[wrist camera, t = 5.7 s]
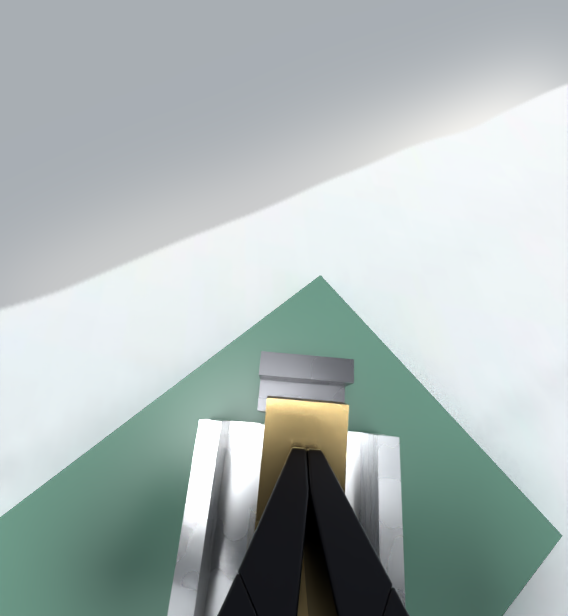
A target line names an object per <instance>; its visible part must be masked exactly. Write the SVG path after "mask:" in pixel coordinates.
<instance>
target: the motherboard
mask: <svg viewBox="0 0 568 616" xmlns="http://www.w3.org/2000/svg"><path fill="white" fill-rule="evenodd" d="M261 351H266V352H277V353H288V354H300V355H311V356H322V357H334V358H345V359H354V383H353V384H351V385H348V386H346V387H345V403H346V404H348V405H349V416H348V431H354V432H365V433H377V434H384V435H388V436H395V437H399V444H400V470H401V497H402V524H403V551H404V578H405V605H406V610H407V612H408V614H409V615H410V616H503V614H504V613H505V612H506V610H507V609H508V608H509V606H510V605H511V604H512V602H513V601H514V600H515V598H516V597H517V596H518V594H519V593H520V592H521V590H522V589H523V588H524V586H525V585H526V584H527V582H528V581H529V580H530V578H531V577H532V576H533V574H534V573H535V572H536V570H537V569H538V568H539V566H540V565H541V564H542V562H543V561H544V560H545V558H546V557H547V556H548V554H549V553H550V552H551V550H552V549H553V548H554V546H555V545H556V544H557V542H558V541H559V540H560V538H561V537H562V535H561V534H560V533H559V532H558V531H557V529H556V528H555V527H554V526H553V525H552V524H551V523H550V522H549V521H548V520H547V519H546V518H545V517H544V515H543V514H542V513H541V512H540V511H539V510H538V509H537V508H536V507H535V506H534V505H533V504H532V503H531V501H530V500H529V499H528V498H527V497H526V496H525V495H524V494H523V493H522V492H521V491H520V490H519V489H518V487H517V486H516V485H515V484H514V483H513V482H512V481H511V480H510V479H509V478H508V477H507V476H506V475H505V473H504V472H503V471H502V470H501V469H500V468H499V467H498V466H497V465H496V464H495V463H494V462H493V461H492V459H491V458H490V457H489V456H488V455H487V454H486V453H485V452H484V451H483V450H482V449H481V448H480V447H479V445H478V444H477V443H476V442H475V441H474V440H473V439H472V438H471V437H470V436H469V435H468V434H467V433H466V431H465V430H464V429H463V428H462V427H461V426H460V425H459V424H458V423H457V422H456V421H455V420H454V419H453V417H452V416H451V415H450V414H449V413H448V412H447V411H446V410H445V409H444V408H443V407H442V406H441V405H440V403H439V402H438V401H437V400H436V399H435V398H434V397H433V396H432V395H431V394H430V393H429V392H428V390H427V389H426V388H425V387H424V386H423V385H422V384H421V383H420V382H419V381H418V380H417V379H416V378H415V376H414V375H413V374H412V373H411V372H410V371H409V370H408V369H407V368H406V367H405V366H404V365H403V364H402V362H401V361H400V360H399V359H398V358H397V357H396V356H395V355H394V354H393V353H392V352H391V351H390V350H389V348H388V347H387V346H386V345H385V344H384V343H383V342H382V341H381V340H380V339H379V338H378V337H377V336H376V334H375V333H374V332H373V331H372V330H371V329H370V328H369V327H368V326H367V325H366V324H365V323H364V322H363V320H362V319H361V318H360V317H359V316H358V315H357V314H356V313H355V312H354V311H353V310H352V309H351V308H350V306H349V305H348V304H347V303H346V302H345V301H344V300H343V299H342V298H341V297H340V296H339V295H338V294H337V292H336V291H335V290H334V289H333V288H332V287H331V286H330V285H329V284H328V283H327V282H326V281H325V280H324V278H323V277H322V276H321V275H320V276H319V277H317V278H316V279H315V280H313V281H312V282H311V283H309V284H308V285H307V286H306V287H304V288H303V289H302V290H300V291H299V292H298V293H296V294H295V295H294V296H292V297H291V298H290V299H288V300H287V301H286V302H284V303H283V304H282V305H280V306H279V307H278V308H276V309H275V310H274V311H272V312H271V313H270V314H268V315H267V316H266V317H265V318H263V319H262V320H261V321H259V322H258V323H257V324H255V325H254V326H253V327H251V328H250V329H249V330H247V331H246V332H245V333H243V334H242V335H241V336H239V337H238V338H237V339H235V340H234V341H233V342H231V343H230V344H229V345H227V346H226V347H225V348H224V349H222V350H221V351H220V352H218V353H217V354H216V355H214V356H213V357H212V358H210V359H209V360H208V361H206V362H205V363H204V364H202V365H201V366H200V367H198V368H197V369H196V370H194V371H193V372H192V373H190V374H189V375H188V376H186V377H185V378H184V379H183V380H181V381H180V382H179V383H177V384H176V385H175V386H173V387H172V388H171V389H169V390H168V391H167V392H165V393H164V394H163V395H161V396H160V397H159V398H157V399H156V400H155V401H153V402H152V403H151V404H149V405H148V406H147V407H145V408H144V409H143V410H142V411H140V412H139V413H138V414H136V415H135V416H134V417H132V418H131V419H130V420H128V421H127V422H126V423H124V424H123V425H122V426H120V427H119V428H118V429H116V430H115V431H114V432H112V433H111V434H110V435H108V436H107V437H106V438H104V439H103V440H102V441H101V442H99V443H98V444H97V445H95V446H94V447H93V448H91V449H90V450H89V451H87V452H86V453H85V454H83V455H82V456H81V457H79V458H78V459H77V460H75V461H74V462H73V463H71V464H70V465H69V466H67V467H66V468H65V469H63V470H62V471H61V472H60V473H58V474H57V475H56V476H54V477H53V478H52V479H50V480H49V481H48V482H46V483H45V484H44V485H42V486H41V487H40V488H38V489H37V490H36V491H34V492H33V493H32V494H30V495H29V496H28V497H26V498H25V499H24V500H22V501H21V502H20V503H19V504H17V505H16V506H15V507H13V508H12V509H11V510H9V511H8V512H7V513H5V514H4V515H3V516H1V517H0V616H167V615H168V609H169V602H170V596H171V590H172V584H173V578H174V572H175V566H176V560H177V553H178V547H179V541H180V535H181V529H182V523H183V517H184V511H185V505H186V498H187V492H188V486H189V480H190V474H191V468H192V462H193V456H194V449H195V443H196V437H197V431H198V425H199V420H203V419H218V420H229V421H241V422H252V423H263V424H265V412H260V411H258V410H257V407H258V398H259V388H260V377H259V367H260V358H261Z"/></svg>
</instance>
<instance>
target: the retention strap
mask: <svg viewBox="0 0 568 616" xmlns="http://www.w3.org/2000/svg"><path fill="white" fill-rule="evenodd" d="M348 416H349V405H348V404H346V403H344V402H335V401H324V400H313V399H301V398H290V397H279V396H268V397H267V403H266V413H265V424H264V435H263V446H262V456H261V467H260V478H259V488H258V499H257V510H256V520H255V530H256V528H257V526H258V523H259V521H260V519H261V516H262V514H263V512H264V510H265V507H266V505H267V503H268V500H269V498H270V496H271V494H272V491H273V489H274V487H275V484H276V482H277V480H278V478H279V475H280V473H281V471H282V468H283V466H284V464H285V462H286V459H287V457H288V455H289V452H290V450H291V448H293V447H299V448H305V449H306V451H307V449H309V448H310V449H320V450H321V451H322V452H323V453H324V455H325V457H326V459H327V461H328V463H329V465H330V467H331V468H332V470H333V472H334V474H335V476H336V478H337V480H338V482H339V484H340V485H341V487H342V489H343V491H344V493H345V483H346V461H347V439H348ZM254 533H255V531H254ZM297 616H308V606H307V594H306V582H305V571H304V559H303V563H302V574H301V584H300V594H299V604H298V615H297Z"/></svg>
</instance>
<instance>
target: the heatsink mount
mask: <svg viewBox="0 0 568 616" xmlns="http://www.w3.org/2000/svg"><path fill="white" fill-rule="evenodd" d="M259 377H260V388H259V398H258V407H257V410H258V411H260V412H265V413H266V403H267V397H268V396H279V397H290V398H301V399H313V400H324V401H335V402H344V403H345V387H346V386H348V385H351V384H353V383H354V359H345V358H334V357H322V356H311V355H300V354H288V353H277V352H266V351H261V358H260V367H259ZM263 435H264V424H263V423H252V422H241V421H229V420H218V419H203V420H199V425H198V431H197V437H196V443H195V449H194V456H193V462H192V468H191V474H190V480H189V486H188V492H187V498H186V505H185V511H184V517H183V523H182V529H181V535H180V541H179V547H178V553H177V560H176V566H175V572H174V578H173V584H172V590H171V596H170V602H169V609H168V615H167V616H217V615H218V613H219V611H220V609H221V606H222V604H223V602H224V600H225V598H226V596H227V594H228V591H229V589H230V587H231V585H232V582H233V580H234V578H235V575H236V574H237V573H238V569H239V567H240V565H241V562H242V560H243V558H244V555H245V553H246V551H247V549H248V546H249V544H250V542H251V539H252V537H253V535H254V531H255V520H256V510H257V499H258V488H259V478H260V467H261V456H262V446H263ZM345 495H346V497H347V499H348V501H349V502H350V504H351V506H352V508H353V510H354V512H355V514H356V516H357V518H358V519H359V521H360V523H361V525H362V527H363V529H364V531H365V533H366V535H367V537H368V538H369V540H370V542H371V544H372V546H373V548H374V550H375V552H376V554H377V555H378V557H379V559H380V561H381V563H382V565H383V567H384V569H385V571H386V572H387V574H388V576H389V578H390V580H391V582H392V587H394V588H395V589H396V591H397V593H398V595H399V597H400V599H401V601H402V602H403V604H404V606H405V608H406V605H405V578H404V551H403V524H402V497H401V470H400V444H399V437H395V436H388V435H384V434H377V433H365V432H354V431H348V439H347V461H346V483H345Z"/></svg>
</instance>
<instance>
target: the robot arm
mask: <svg viewBox="0 0 568 616" xmlns="http://www.w3.org/2000/svg"><path fill="white" fill-rule="evenodd" d="M303 559H304V571H305V582H306V594H307V606H308V616H410V615H409V614H408V612H407V610H406V608H405V606H404V604H403V602H402V601H401V599H400V597H399V595H398V593H397V591H396V589H395V588H394V587H392V582H391V580H390V578H389V576H388V574H387V572H386V571H385V569H384V567H383V565H382V563H381V561H380V559H379V557H378V555H377V554H376V552H375V550H374V548H373V546H372V544H371V542H370V540H369V538H368V537H367V535H366V533H365V531H364V529H363V527H362V525H361V523H360V521H359V519H358V518H357V516H356V514H355V512H354V510H353V508H352V506H351V504H350V502H349V501H348V499H347V497H346V495H345V493H344V491H343V489H342V487H341V485H340V484H339V482H338V480H337V478H336V476H335V474H334V472H333V470H332V468H331V467H330V465H329V463H328V461H327V459H326V457H325V455H324V453H323V452H322V451H321V450H320V449H310V448H309V449H307V451H306V449H305V448H299V447H293V448H291V450H290V452H289V455H288V457H287V459H286V462H285V464H284V466H283V468H282V471H281V473H280V475H279V478H278V480H277V482H276V484H275V487H274V489H273V491H272V494H271V496H270V498H269V500H268V503H267V505H266V507H265V510H264V512H263V514H262V516H261V519H260V521H259V523H258V526H257V528H256V530H255V533H254V535H253V537H252V539H251V542H250V544H249V546H248V549H247V551H246V553H245V555H244V558H243V560H242V562H241V565H240V567H239V569H238V573H237V574H236V575H235V578H234V580H233V582H232V585H231V587H230V589H229V591H228V594H227V596H226V598H225V600H224V602H223V604H222V606H221V609H220V611H219V613H218V615H217V616H297V615H298V604H299V594H300V584H301V574H302V563H303Z"/></svg>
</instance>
